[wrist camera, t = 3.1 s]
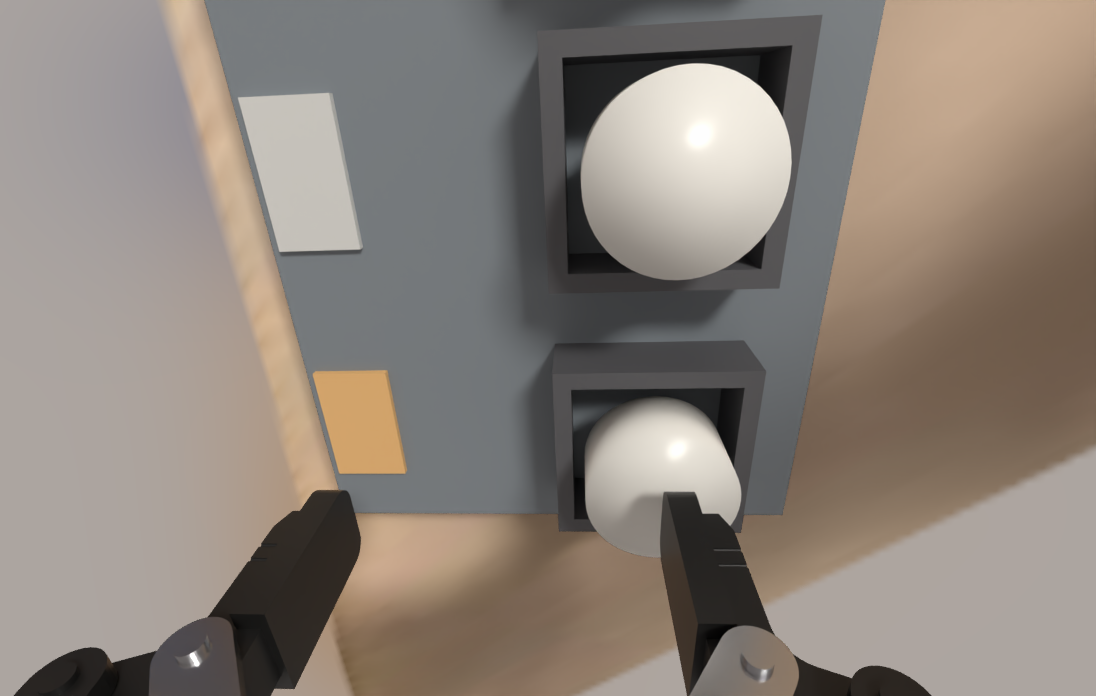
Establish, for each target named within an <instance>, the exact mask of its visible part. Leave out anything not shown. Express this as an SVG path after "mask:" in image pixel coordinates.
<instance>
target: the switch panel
mask: <svg viewBox="0 0 1096 696" xmlns="http://www.w3.org/2000/svg"><path fill="white" fill-rule="evenodd" d="M205 4H206V8H207V11H208V15H209V19H210V22H211V26H212V29H213V33H214V37H215V40H216V44H217V48H218V51H219V55H220V59H221V62H222V66H223V70H224V73H225V77H226V80H227V84H228V88H229V91H230V95H231V99H232V102H233V106H234V110H235V113H236V117H237V120H238V124H239V128H240V131H241V135H242V139H243V142H244V146H245V150H246V153H247V157H248V160H249V164H250V168H251V171H252V175H253V179H254V182H255V186H256V190H257V193H258V197H259V201H260V204H261V208H262V211H263V215H264V219H265V222H266V226H267V230H268V233H269V237H270V241H271V244H272V248H273V251H274V255H275V259H276V262H277V266H278V270H279V273H280V277H281V281H282V284H283V288H284V291H285V295H286V299H287V302H288V306H289V310H290V313H291V317H292V321H293V324H294V328H295V331H296V335H297V339H298V342H299V346H300V350H301V353H302V357H303V361H304V364H305V368H306V372H307V375H308V379H309V382H310V386H311V390H312V393H313V397H314V401H315V404H316V408H317V412H318V415H319V419H320V422H321V426H322V430H323V433H324V437H325V441H326V444H327V448H328V452H329V455H330V459H331V462H332V466H333V470H334V473H335V477H336V481H337V484H338V488H339V490H346V491H348V493H349V494H350V497H351V501H352V505H353V508H354V512H355V513H493V514H558V519H559V531H592V532H597V531H596V530H595V528H594V527H593V525H592V524H591V521H590V519H589V517H588V514H587V510H586V501H585V445H586V441H587V438H588V436H589V433H590V431H591V430H592V428H593V426H594V425H595V424H596V423H597V421H598V420H599V419H600V418H601V417H602V416H603V415H604V414H606V413H607V412H608V411H610V410H611V409H613V408H614V407H616V406H618V405H620V404H622V403H624V402H627V401H630V400H633V399H636V398H642V397H650V396H662V397H670V398H675V399H679V400H682V401H685V402H687V403H689V404H692V405H693V406H695V407H697V408H698V409H700V410H701V411H702V412H703V413H705V414H706V415H707V416H708V417H709V418H710V420H711V421H712V422H713V424H714V425H715V427H716V429H717V431H718V433H719V436H720V438H721V440H722V443H723V445H724V447H725V449H726V452H727V454H728V456H729V458H730V461H731V463H732V465H733V468H734V470H735V472H736V474H737V477H738V479H739V483H740V487H741V503H740V507H739V511H738V513H737V516H736V518H735V519H734V521H733V523H732V524H731V526H730V527H731V528H732V529H733V530H734V532H735V533H741V529H742V523H743V516H744V515H782V514H783V509H784V504H785V499H786V494H787V489H788V484H789V479H790V474H791V469H792V464H793V459H794V455H795V450H796V445H797V440H798V435H799V430H800V425H801V420H802V415H803V410H804V405H805V400H806V395H807V390H808V385H809V380H810V375H811V370H812V365H813V360H814V355H815V350H816V345H817V340H818V335H819V330H820V325H821V320H822V315H823V310H824V305H825V300H826V295H827V290H828V285H829V280H830V275H831V270H832V265H833V260H834V255H835V250H836V245H837V240H838V235H839V230H840V225H841V220H842V215H843V210H844V205H845V200H846V195H847V190H848V185H849V180H850V175H851V170H852V165H853V160H854V155H855V150H856V145H857V140H858V135H859V130H860V125H861V120H862V115H863V110H864V105H865V100H866V95H867V90H868V85H869V80H870V75H871V70H872V65H873V60H874V55H875V50H876V45H877V40H878V35H879V30H880V25H881V20H882V15H883V10H884V5H885V0H205ZM692 63H697V64H712V65H717V66H722V67H725V68H728V69H731V70H734V71H737V72H738V73H740V74H742V75H744V76H746V77H748V78H749V79H751V80H752V81H753V82H755V83H756V84H757V85H759V86H760V87H761V88H762V89H763V90H764V91H765V92H766V93H767V94H768V95H769V96H770V98H771V99H772V101H773V102H774V104H775V105H776V106H777V108H778V110H779V112H780V114H781V116H782V118H783V120H784V122H785V125H786V128H787V131H788V134H789V140H790V146H791V161H792V164H791V175H790V181H789V186H788V190H787V194H786V196H785V199H784V202H783V205H782V207H781V209H780V211H779V213H778V215H777V217H776V219H775V221H774V222H773V224H772V225H771V227H770V229H769V230H768V231H767V233H766V234H765V235H764V236H763V238H762V239H761V240H760V241H759V242H758V243H757V244H756V245H755V246H754V247H753V248H752V249H751V250H750V251H749V252H748V253H746V254H745V255H744V256H743V257H741V258H740V259H739V260H737V261H736V262H734V263H732V264H731V265H729V266H728V267H726V268H723V269H721V270H719V271H717V272H715V273H712V274H709V275H706V276H703V277H698V278H694V279H687V280H663V279H657V278H652V277H649V276H645V275H642V274H639V273H637V272H635V271H633V270H631V269H629V268H627V267H626V266H624V265H623V264H621V263H619V262H618V261H617V260H616V259H615V258H613V257H612V256H611V255H610V254H609V253H608V252H607V251H606V250H605V248H604V247H603V246H602V245H601V244H600V242H599V241H598V239H597V238H596V236H595V235H594V233H593V231H592V229H591V227H590V225H589V222H588V219H587V216H586V214H585V210H584V205H583V200H582V191H581V174H580V173H581V159H582V153H583V148H584V145H585V142H586V138H587V136H588V134H589V131H590V129H591V127H592V125H593V123H594V122H595V120H596V118H597V117H598V115H599V114H600V112H601V111H602V110H603V108H604V107H605V106H606V105H607V104H608V103H609V102H610V101H611V100H612V99H613V98H614V97H615V96H616V95H617V94H618V93H620V92H621V91H622V90H623V89H625V88H626V87H628V86H629V85H631V84H633V83H634V82H636V81H638V80H640V79H642V78H644V77H646V76H648V75H650V74H653V73H655V72H657V71H660V70H662V69H666V68H669V67H673V66H677V65H684V64H692Z"/></svg>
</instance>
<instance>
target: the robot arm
mask: <svg viewBox="0 0 1096 696" xmlns="http://www.w3.org/2000/svg"><path fill="white" fill-rule="evenodd" d="M360 545H361V537H360V532H359V528H358V524H357V520H356V516H355V512H354V508H353V505H352V501H351V497H350V494H349V493H348V491H346V490H316V491H314V492H313V493H312V494H311V496H310V497H309V499H308V500H307V502H306V503H305V504H304V506H303V507H302V509H301V510H300V511H292V512H291V513H290V514H288V515H287V516H286V517H285V518H283V519H282V520H281V521H280V522H278V523H277V524H276V525H275V526H274V527H273V528H272V530H271V531H270V532H269V534H268V535H267V536H266V538H265V539H264V541H263V542H262V543H261V547H258V549H257V550H256V551H255V553H254V554H253V556H252V557H251V561H250V562H247V564H246V565H245V567H244V568H243V570H242V571H241V572H240V574H239V575H238V576H237V578H236V579H235V580H234V582H233V583H232V585H231V586H230V587H229V589H228V590H227V592H226V593H225V594H224V596H223V597H222V598H221V600H220V601H219V602H218V604H217V605H216V607H215V608H214V609H213V611H212V612H211V614H210V615H209V616H208V617H207V618H203V619H199V620H197V621H194V622H192V623H190V624H188V625H186V626H184V627H182V628H181V629H179V630H178V631H176V632H175V633H174V634H172V635H171V636H170V637H169V638H168V639H167V640H166V641H165V642H164V643H163V644H162V645H161V646H160V647H159V649H158V650H157V651H154V652H151V653H147V654H143V655H140V656H136V657H132V658H128V659H125V660H121V661H118V662H114V663H111V661H110V659H109V658H108V656H107V655H106V653H105V652H104V651H103V650H102V649H99V648H91V647H90V648H83V649H79V650H75V651H73V652H70V653H67V654H65V655H63V656H61V657H59V658H57V659H55V660H54V661H52V662H50V663H49V664H47V665H46V666H44V667H43V668H42V669H40V670H39V671H38V672H37V673H35V674H34V675H33V676H32V677H31V678H30V679H29V680H28V681H27V682H26V683H25V684H24V685H23V686H22V687H21V688H20V689H19V690H18V691H17V692H16V694H15V695H14V696H271V694H272V692H273V690H274V688H275V689H276V688H277V689H295V687H296V685H297V683H298V681H299V679H300V677H301V674H302V672H303V670H304V668H305V666H306V664H307V662H308V660H309V658H310V656H311V654H312V652H313V650H314V648H315V646H316V644H317V642H318V639H319V637H320V635H321V633H322V631H323V629H324V627H325V625H326V623H327V621H328V619H329V617H330V615H331V613H332V611H333V609H334V606H335V604H336V602H337V600H338V598H339V596H340V594H341V592H342V590H343V588H344V586H345V584H346V582H347V580H348V578H349V576H350V574H351V571H352V569H353V567H354V565H355V563H356V561H357V559H358V556H359V552H360ZM660 554H661V563H662V568H663V573H664V578H665V584H666V589H667V594H668V599H669V604H670V610H671V615H672V620H673V625H674V630H675V635H676V641H677V646H678V651H679V656H680V661H681V666H682V672H683V676H684V682H685V687H686V692H687V696H931V695H930V694H929V693H928V692H927V691H926V690H925V689H924V688H923V687H922V686H921V685H919V684H918V683H917V682H916V681H914V680H913V679H911V678H910V677H908V676H906V675H904V674H902V673H901V672H898V671H896V670H894V669H891V668H887V667H882V666H868V667H864V668H862V669H859V670H858V671H857V672H856V673H855V674H854V676H853V678H849V677H846V676H843V675H840V674H837V673H833V672H830V671H828V670H824V669H821V668H818V667H816V666H813V665H810V664H808V663H806V662H804V661H803V660H801V659H799V658H798V657H796V656H795V655H793V654H792V652H791V651H790V649H789V648H788V647H787V646H786V645H785V644H784V643H783V642H782V641H781V640H780V639H779V638H778V637H776V636H775V634H774V633H773V631H772V629H771V627H770V624H769V622H768V619H767V616H766V614H765V611H764V608H763V606H762V603H761V601H760V598H759V595H758V593H757V590H756V587H755V585H754V582H753V580H752V577H751V574H750V572H749V569H748V568H747V565H746V561H745V559H744V556H743V553H742V552H741V548H740V545H739V543H738V540H737V538H736V535H735V532H734V530H733V529H732V528H731V527H730V525H729V524H728V523H727V522H726V521H725V520H724V519H723V518H722V517H721V516H720V515H719V514H702V511H701V508H700V504H699V501H698V498H697V495H696V493H695V492H664V494H663V502H662V516H661V530H660Z"/></svg>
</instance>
